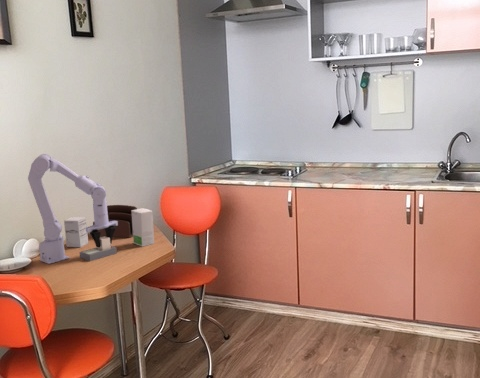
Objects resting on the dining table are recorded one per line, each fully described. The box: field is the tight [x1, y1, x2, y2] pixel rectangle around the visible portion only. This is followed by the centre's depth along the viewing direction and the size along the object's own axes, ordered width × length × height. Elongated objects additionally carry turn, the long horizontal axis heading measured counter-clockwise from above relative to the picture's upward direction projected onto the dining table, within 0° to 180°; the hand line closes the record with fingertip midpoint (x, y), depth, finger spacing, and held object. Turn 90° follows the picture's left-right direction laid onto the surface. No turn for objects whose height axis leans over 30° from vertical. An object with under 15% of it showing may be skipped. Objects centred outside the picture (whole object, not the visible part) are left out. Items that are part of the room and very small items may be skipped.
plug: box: [97, 236, 112, 251], centre depth 231 cm, size 4×4×7 cm
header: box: [79, 246, 118, 262], centre depth 229 cm, size 13×8×3 cm, turn 137°
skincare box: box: [131, 207, 155, 247], centre depth 242 cm, size 8×7×16 cm
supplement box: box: [63, 216, 89, 248], centre depth 246 cm, size 7×7×13 cm
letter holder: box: [92, 204, 138, 239], centre depth 261 cm, size 10×20×14 cm, turn 74°
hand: (103, 245), depth 231 cm, fingers open, 5 cm apart
